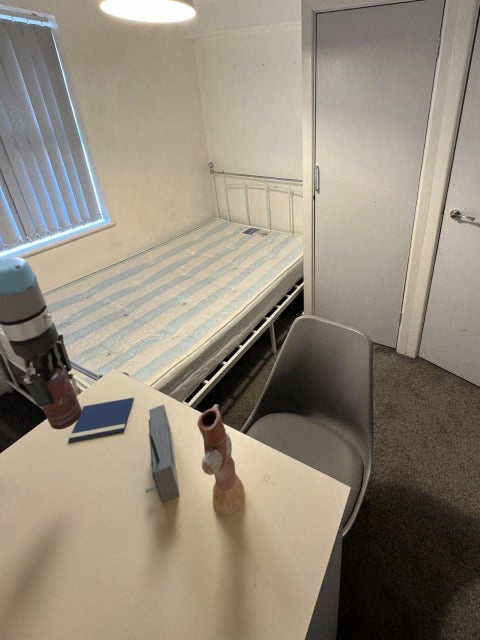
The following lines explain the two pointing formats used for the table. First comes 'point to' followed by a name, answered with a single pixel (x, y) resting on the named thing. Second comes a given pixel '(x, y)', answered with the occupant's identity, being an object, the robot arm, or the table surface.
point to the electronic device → (162, 455)
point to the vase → (220, 462)
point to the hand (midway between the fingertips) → (66, 408)
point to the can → (61, 400)
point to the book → (102, 419)
